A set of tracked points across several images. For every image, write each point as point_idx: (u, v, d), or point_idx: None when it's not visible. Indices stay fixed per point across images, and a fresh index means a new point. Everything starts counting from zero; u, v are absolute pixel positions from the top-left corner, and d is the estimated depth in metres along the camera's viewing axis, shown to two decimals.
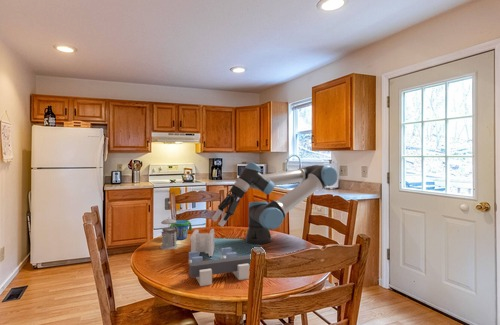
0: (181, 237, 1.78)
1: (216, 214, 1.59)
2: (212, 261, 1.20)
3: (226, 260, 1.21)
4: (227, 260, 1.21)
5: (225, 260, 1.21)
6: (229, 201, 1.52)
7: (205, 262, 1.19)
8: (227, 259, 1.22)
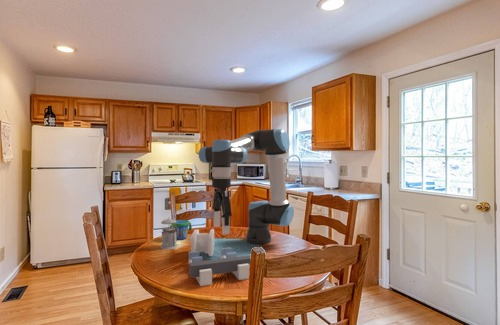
0: (181, 237, 1.78)
1: (216, 218, 1.27)
2: (212, 261, 1.20)
3: (226, 260, 1.21)
4: (227, 260, 1.21)
5: (225, 260, 1.21)
6: (219, 200, 1.18)
7: (205, 262, 1.19)
8: (227, 259, 1.22)
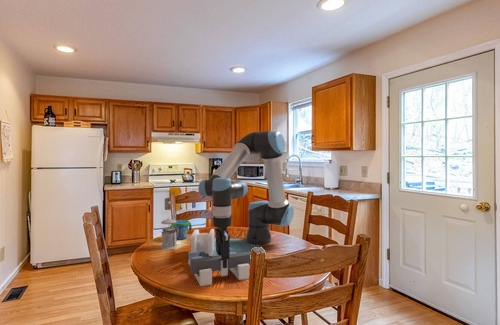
0: (181, 237, 1.78)
1: None
2: (213, 257, 1.20)
3: None
4: None
5: None
6: (219, 240, 1.19)
7: (206, 259, 1.19)
8: None
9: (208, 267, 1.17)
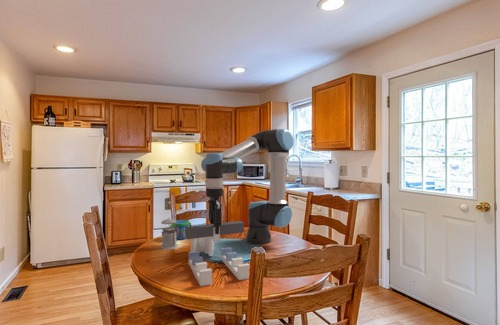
0: (181, 237, 1.78)
1: None
2: (206, 225, 1.32)
3: None
4: None
5: None
6: (211, 209, 1.31)
7: (200, 226, 1.31)
8: None
9: (202, 233, 1.29)
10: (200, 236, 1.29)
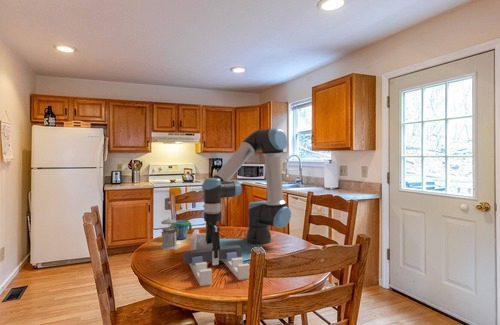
0: (181, 237, 1.78)
1: None
2: (204, 250, 1.35)
3: None
4: None
5: None
6: (210, 233, 1.33)
7: (197, 250, 1.34)
8: None
9: None
10: None
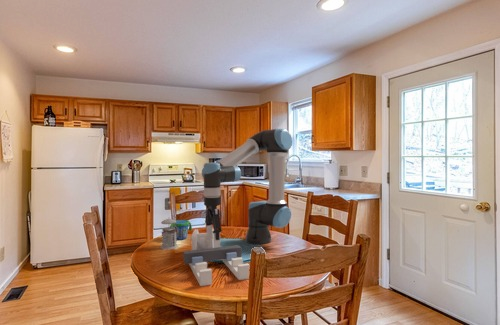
0: (181, 237, 1.78)
1: (208, 232, 1.42)
2: (204, 250, 1.35)
3: (216, 249, 1.36)
4: (217, 249, 1.36)
5: (215, 249, 1.36)
6: (210, 217, 1.33)
7: (197, 250, 1.34)
8: (217, 248, 1.37)
9: None
10: None
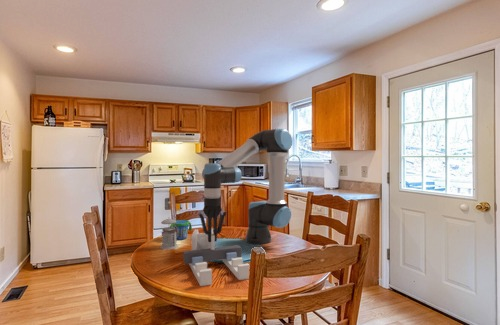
0: (181, 237, 1.78)
1: None
2: (204, 250, 1.35)
3: (216, 249, 1.36)
4: (217, 249, 1.36)
5: (215, 249, 1.36)
6: None
7: (197, 250, 1.34)
8: (217, 248, 1.37)
9: None
10: None
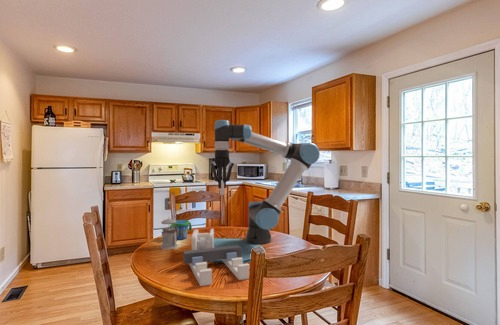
0: (181, 237, 1.78)
1: None
2: (204, 250, 1.35)
3: (216, 249, 1.36)
4: (217, 249, 1.36)
5: (215, 249, 1.36)
6: None
7: (197, 250, 1.34)
8: (217, 248, 1.37)
9: None
10: None
